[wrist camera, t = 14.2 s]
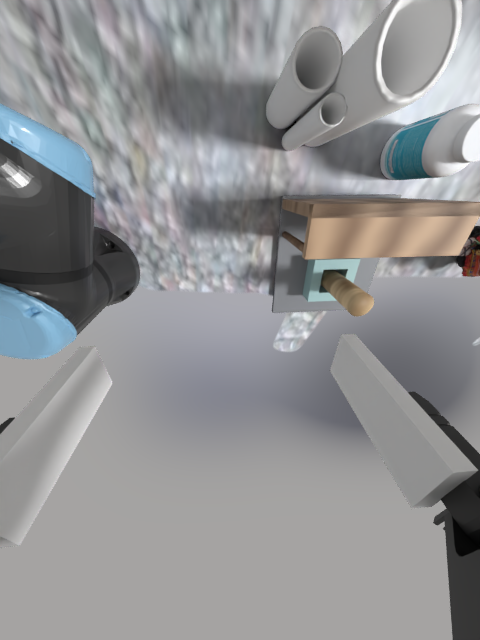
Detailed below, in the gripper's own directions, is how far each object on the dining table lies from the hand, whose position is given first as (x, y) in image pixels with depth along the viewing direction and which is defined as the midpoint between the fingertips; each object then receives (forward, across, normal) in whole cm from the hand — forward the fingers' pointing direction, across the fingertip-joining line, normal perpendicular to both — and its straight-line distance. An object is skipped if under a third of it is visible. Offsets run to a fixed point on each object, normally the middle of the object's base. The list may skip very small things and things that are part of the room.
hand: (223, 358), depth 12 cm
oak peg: (+34, +22, -8) cm, 41 cm away
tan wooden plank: (+35, +22, +3) cm, 41 cm away
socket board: (+35, +22, -5) cm, 41 cm away
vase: (+35, +13, +17) cm, 41 cm away
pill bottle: (+35, +31, +13) cm, 48 cm away
